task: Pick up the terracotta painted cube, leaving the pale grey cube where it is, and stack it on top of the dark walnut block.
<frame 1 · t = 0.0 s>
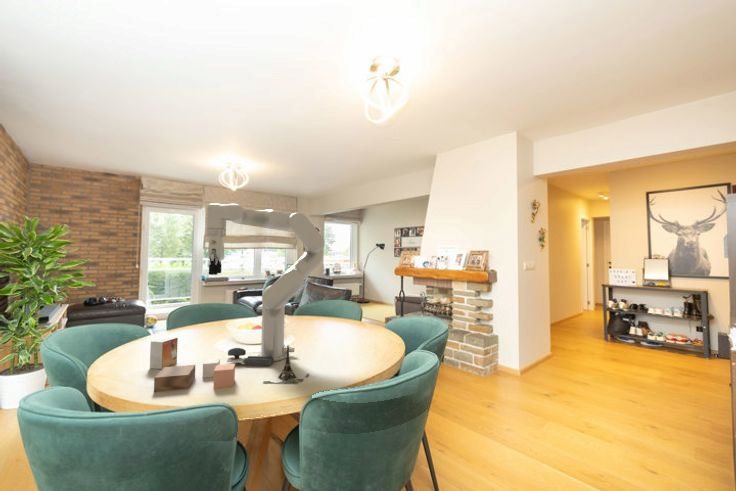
hand: (215, 273, 135), 37 cm above the table, tool pointing down, fingers open, 9 cm apart
small box: (163, 366, 129), on the table
can opener: (249, 365, 132), on the table
walnut base block: (175, 385, 111), on the table
eiffel tower figurine: (286, 380, 118), on the table
terracotta cube: (224, 384, 112), on the table
pale grey cube: (211, 374, 121), on the table
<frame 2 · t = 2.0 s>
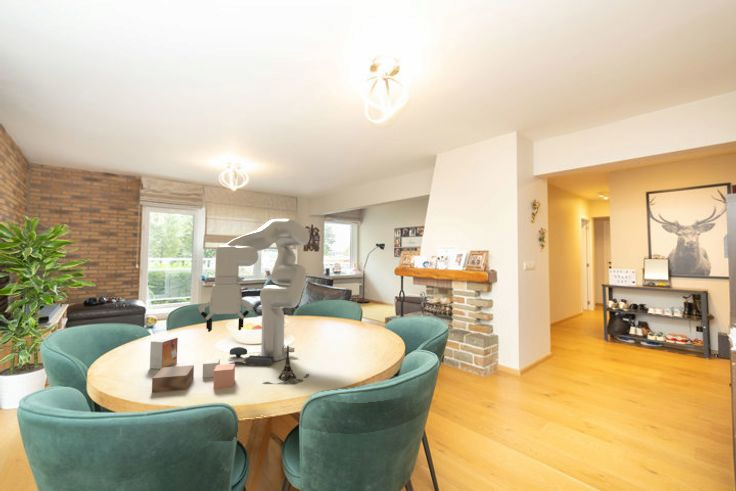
hand: (225, 330, 112), 19 cm above the table, tool pointing down, fingers open, 9 cm apart
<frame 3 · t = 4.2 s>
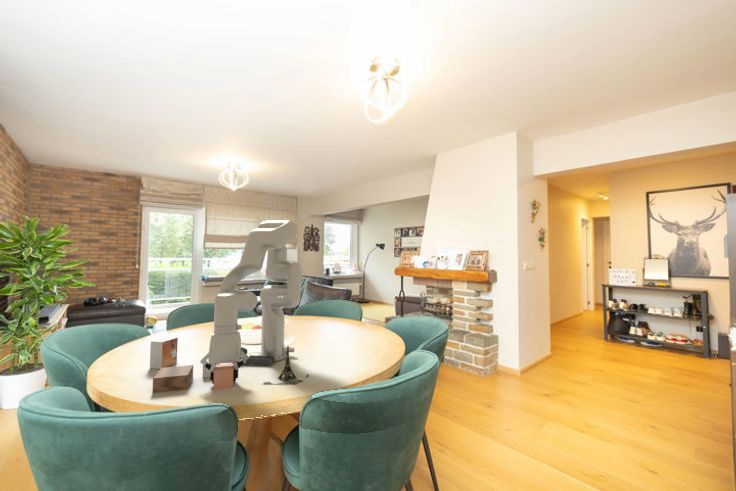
hand: (224, 380, 112), 1 cm above the table, tool pointing down, fingers closed on terracotta cube, 6 cm apart
terracotta cube: (224, 384, 112), on the table, touching gripper
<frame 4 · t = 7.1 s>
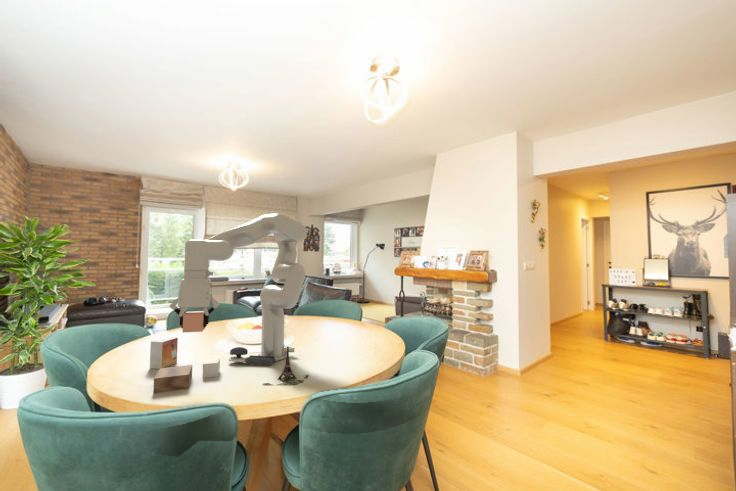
hand: (194, 326, 112), 20 cm above the table, tool pointing down, fingers closed on terracotta cube, 6 cm apart
terracotta cube: (194, 330, 111), point 19 cm above the table, touching gripper
when the fingers open (7 cm above the table, at t = 10.3 s): terracotta cube drops 2 cm, resting on walnut base block.
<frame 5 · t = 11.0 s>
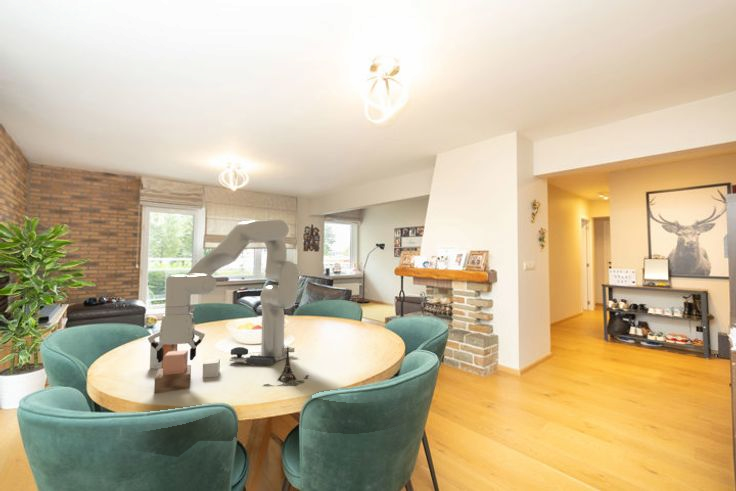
hand: (176, 360, 111), 8 cm above the table, tool pointing down, fingers open, 9 cm apart
walnut base block: (173, 386, 110), on the table, touching terracotta cube
terracotta cube: (175, 371, 111), point 5 cm above the table, touching walnut base block
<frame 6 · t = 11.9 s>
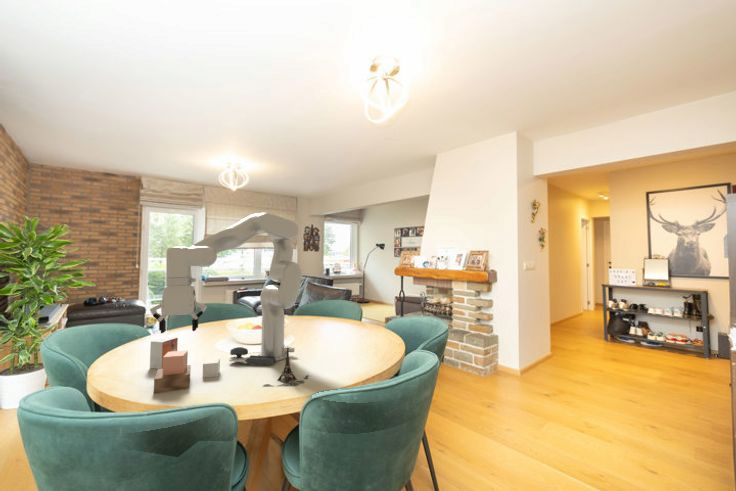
hand: (179, 331, 112), 18 cm above the table, tool pointing down, fingers open, 9 cm apart
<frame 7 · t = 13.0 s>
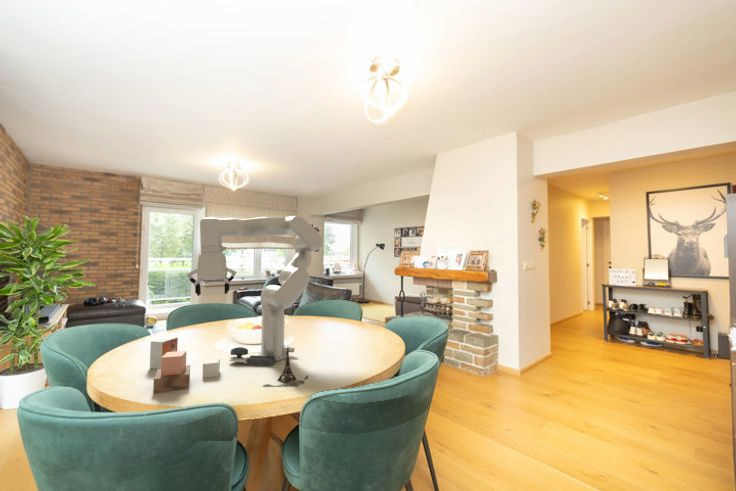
hand: (212, 294, 124), 30 cm above the table, tool pointing down, fingers open, 9 cm apart
walnut base block: (172, 386, 110), on the table
terracotta cube: (173, 371, 110), point 5 cm above the table
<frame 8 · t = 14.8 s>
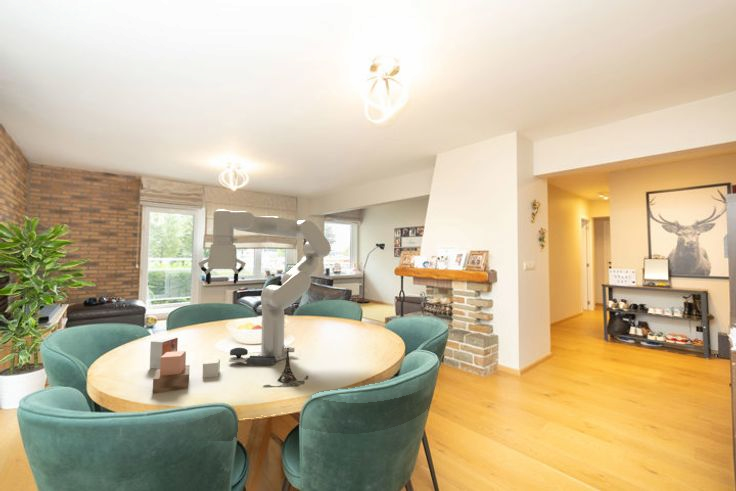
hand: (222, 283, 129), 33 cm above the table, tool pointing down, fingers open, 9 cm apart
walnut base block: (171, 386, 110), on the table, touching terracotta cube
terracotta cube: (173, 371, 110), point 5 cm above the table, touching walnut base block
at the end: terracotta cube inside the target area on the walnut base block (0.2 cm from its centre), point 5.0 cm above the walnut base block's base; terracotta cube tilted 0°; the gripper is holding nothing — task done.
